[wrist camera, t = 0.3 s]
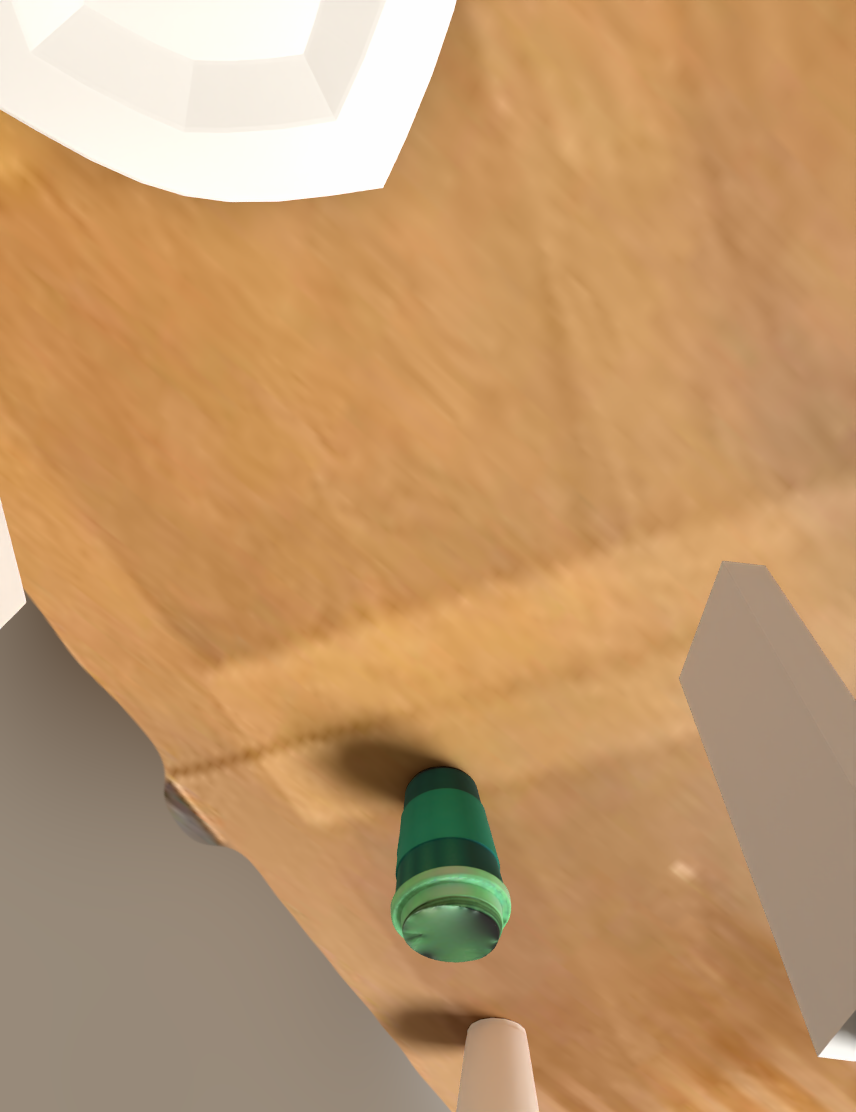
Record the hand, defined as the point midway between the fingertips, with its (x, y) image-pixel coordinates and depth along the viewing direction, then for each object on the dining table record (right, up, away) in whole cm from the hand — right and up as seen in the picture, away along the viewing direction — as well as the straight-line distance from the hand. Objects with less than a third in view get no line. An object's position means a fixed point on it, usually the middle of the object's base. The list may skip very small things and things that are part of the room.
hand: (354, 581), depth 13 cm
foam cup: (+9, -51, +61) cm, 80 cm away
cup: (+4, -18, +43) cm, 46 cm away
